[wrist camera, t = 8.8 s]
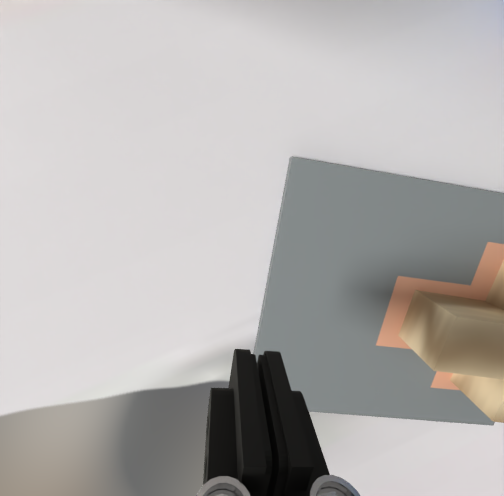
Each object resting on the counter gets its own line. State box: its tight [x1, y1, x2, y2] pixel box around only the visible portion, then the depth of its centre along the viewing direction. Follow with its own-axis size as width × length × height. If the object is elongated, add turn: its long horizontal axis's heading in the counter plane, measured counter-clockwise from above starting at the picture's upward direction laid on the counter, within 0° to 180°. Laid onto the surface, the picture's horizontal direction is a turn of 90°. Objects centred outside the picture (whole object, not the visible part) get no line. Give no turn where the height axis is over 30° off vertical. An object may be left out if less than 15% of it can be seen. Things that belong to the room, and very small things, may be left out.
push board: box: [254, 157, 504, 425], centre depth 22 cm, size 20×23×1 cm
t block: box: [398, 260, 504, 423], centre depth 20 cm, size 11×10×4 cm
